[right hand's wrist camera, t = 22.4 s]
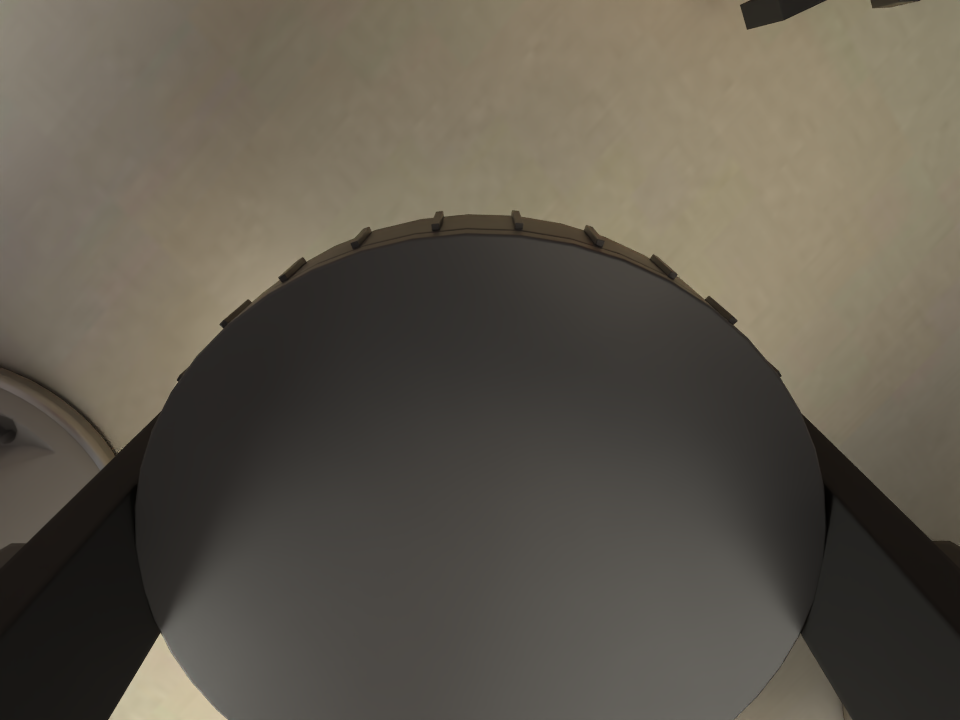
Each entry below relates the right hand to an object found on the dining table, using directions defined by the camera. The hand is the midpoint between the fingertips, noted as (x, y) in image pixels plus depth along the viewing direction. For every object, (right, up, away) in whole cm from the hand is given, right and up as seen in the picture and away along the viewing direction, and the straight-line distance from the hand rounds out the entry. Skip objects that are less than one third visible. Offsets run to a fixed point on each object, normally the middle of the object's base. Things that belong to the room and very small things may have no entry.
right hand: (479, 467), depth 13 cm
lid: (0, -1, -3) cm, 3 cm away
